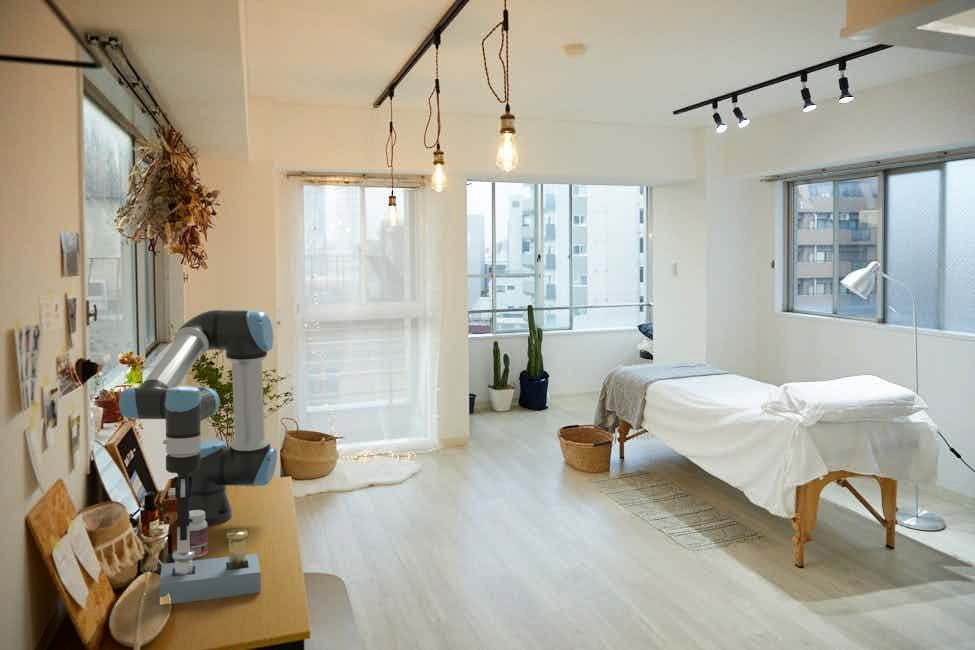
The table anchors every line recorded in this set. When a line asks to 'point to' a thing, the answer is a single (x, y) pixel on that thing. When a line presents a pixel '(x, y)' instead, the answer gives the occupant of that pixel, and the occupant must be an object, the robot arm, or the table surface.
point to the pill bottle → (198, 533)
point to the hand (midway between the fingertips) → (183, 551)
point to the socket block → (210, 580)
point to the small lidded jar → (183, 563)
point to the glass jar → (237, 548)
